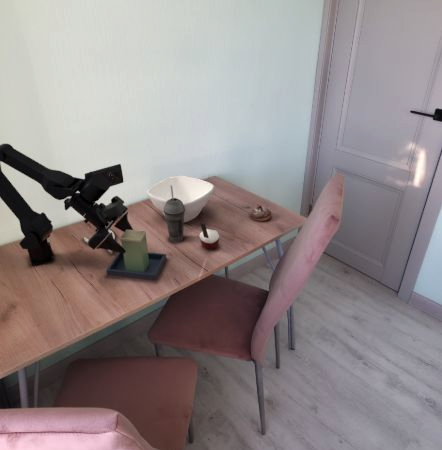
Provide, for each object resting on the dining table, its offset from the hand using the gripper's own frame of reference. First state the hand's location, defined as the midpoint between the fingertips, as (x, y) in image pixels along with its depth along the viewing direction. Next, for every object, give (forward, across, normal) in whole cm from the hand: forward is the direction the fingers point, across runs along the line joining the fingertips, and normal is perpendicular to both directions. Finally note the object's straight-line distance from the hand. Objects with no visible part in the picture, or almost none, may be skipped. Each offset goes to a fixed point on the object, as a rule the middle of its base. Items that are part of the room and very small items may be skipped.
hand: (130, 244), depth 122 cm
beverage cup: (+13, +19, 0) cm, 23 cm away
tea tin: (+7, 0, +5) cm, 9 cm away
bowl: (+11, +36, +2) cm, 37 cm away
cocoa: (+22, +15, -8) cm, 28 cm away
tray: (+7, 0, +5) cm, 9 cm away
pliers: (-4, +12, +17) cm, 21 cm away
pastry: (+33, +40, -20) cm, 55 cm away
